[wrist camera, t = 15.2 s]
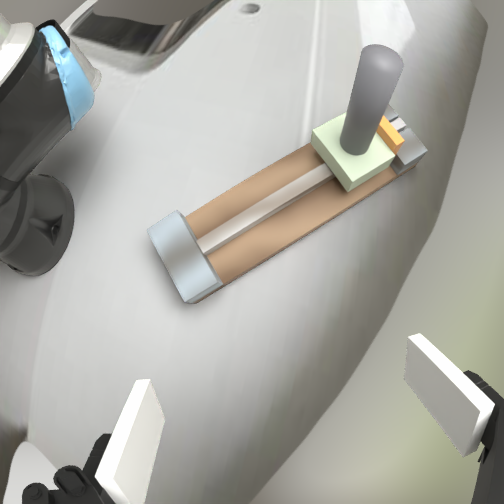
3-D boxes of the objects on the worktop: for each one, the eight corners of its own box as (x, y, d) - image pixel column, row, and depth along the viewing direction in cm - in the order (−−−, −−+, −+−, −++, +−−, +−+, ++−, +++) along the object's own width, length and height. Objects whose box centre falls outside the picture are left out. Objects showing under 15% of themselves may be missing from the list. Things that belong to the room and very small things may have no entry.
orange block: (354, 124, 35) (360, 103, 30) (384, 108, 35) (393, 87, 30) (385, 163, 33) (396, 145, 29) (415, 145, 33) (428, 126, 29)
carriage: (310, 143, 35) (320, 42, 19) (351, 121, 35) (378, 22, 19) (347, 192, 33) (386, 107, 18) (388, 167, 33) (441, 80, 18)
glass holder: (96, 61, 46) (57, 9, 32) (113, 105, 43) (65, 47, 29) (58, 88, 46) (15, 43, 32) (69, 136, 43) (13, 88, 29)
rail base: (161, 238, 38) (146, 229, 34) (373, 114, 38) (380, 94, 34) (196, 303, 37) (184, 302, 32) (415, 166, 37) (427, 150, 32)
